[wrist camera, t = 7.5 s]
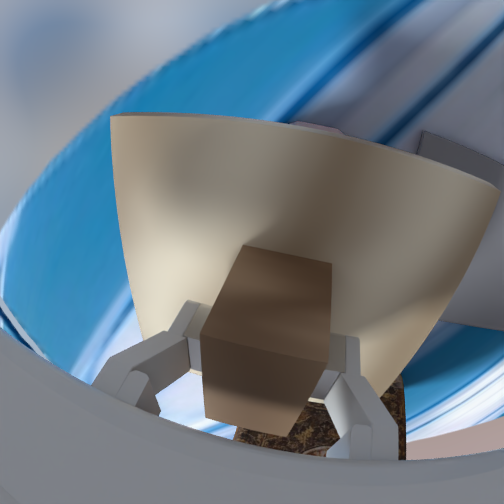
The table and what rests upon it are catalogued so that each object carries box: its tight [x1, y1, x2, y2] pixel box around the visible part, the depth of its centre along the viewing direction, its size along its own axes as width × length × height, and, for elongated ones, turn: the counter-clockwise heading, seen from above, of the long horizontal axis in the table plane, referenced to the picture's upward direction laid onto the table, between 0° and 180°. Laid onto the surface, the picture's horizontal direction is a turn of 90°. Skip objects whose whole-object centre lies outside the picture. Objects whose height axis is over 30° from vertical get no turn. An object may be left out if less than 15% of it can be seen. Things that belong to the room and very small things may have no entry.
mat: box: [417, 131, 504, 331], centre depth 18 cm, size 20×15×1 cm
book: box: [233, 374, 406, 460], centre depth 20 cm, size 16×6×25 cm, turn 86°
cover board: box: [110, 112, 501, 437], centre depth 10 cm, size 13×13×5 cm
